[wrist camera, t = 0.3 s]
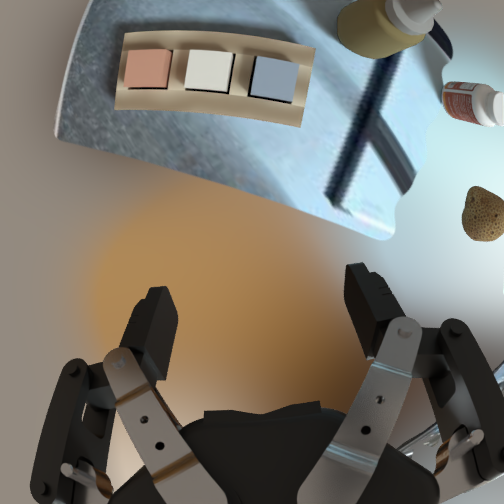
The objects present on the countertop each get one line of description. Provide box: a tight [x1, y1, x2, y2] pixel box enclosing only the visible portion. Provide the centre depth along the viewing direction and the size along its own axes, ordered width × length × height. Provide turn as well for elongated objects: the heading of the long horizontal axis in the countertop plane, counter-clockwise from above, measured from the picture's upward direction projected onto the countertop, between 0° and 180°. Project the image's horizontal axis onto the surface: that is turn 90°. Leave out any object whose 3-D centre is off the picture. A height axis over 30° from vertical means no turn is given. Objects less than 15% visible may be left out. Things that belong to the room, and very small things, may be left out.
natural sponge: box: [462, 186, 504, 241], centre depth 34 cm, size 9×9×10 cm
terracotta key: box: [123, 49, 173, 88], centre depth 25 cm, size 4×4×3 cm
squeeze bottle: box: [337, 0, 443, 59], centre depth 18 cm, size 8×8×18 cm
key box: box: [114, 30, 316, 128], centre depth 28 cm, size 10×22×4 cm, turn 81°
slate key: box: [250, 56, 299, 102], centre depth 26 cm, size 4×4×3 cm
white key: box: [184, 50, 233, 92], centre depth 26 cm, size 4×4×3 cm
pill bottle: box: [441, 82, 504, 127], centre depth 25 cm, size 6×6×11 cm
